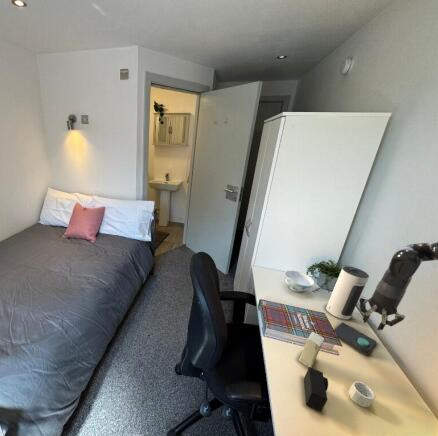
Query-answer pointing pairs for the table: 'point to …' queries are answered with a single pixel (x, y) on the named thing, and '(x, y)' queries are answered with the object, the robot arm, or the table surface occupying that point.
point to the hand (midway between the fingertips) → (371, 325)
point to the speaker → (347, 292)
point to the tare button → (363, 342)
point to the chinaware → (298, 281)
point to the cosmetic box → (311, 349)
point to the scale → (354, 338)
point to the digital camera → (315, 389)
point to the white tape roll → (361, 394)
